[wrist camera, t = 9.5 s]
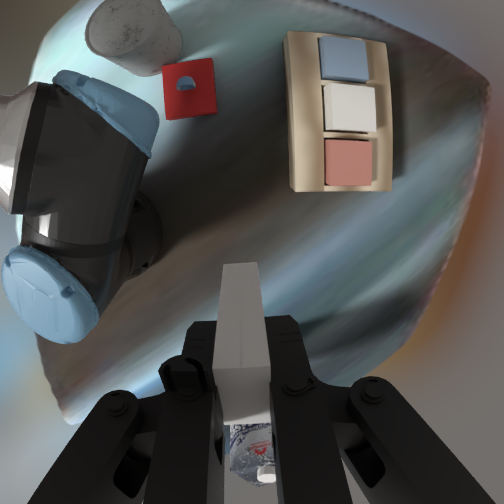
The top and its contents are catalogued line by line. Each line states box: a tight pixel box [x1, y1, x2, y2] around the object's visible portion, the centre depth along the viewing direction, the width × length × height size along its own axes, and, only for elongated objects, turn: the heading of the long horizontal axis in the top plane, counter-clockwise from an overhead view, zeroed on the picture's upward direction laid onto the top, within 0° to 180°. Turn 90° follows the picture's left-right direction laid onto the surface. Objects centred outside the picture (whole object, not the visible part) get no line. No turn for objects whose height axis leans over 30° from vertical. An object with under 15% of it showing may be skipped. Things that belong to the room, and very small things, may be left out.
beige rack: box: [282, 31, 393, 192], centre depth 34 cm, size 14×22×5 cm, turn 3°
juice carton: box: [230, 423, 276, 487], centre depth 40 cm, size 9×10×27 cm
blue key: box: [318, 35, 369, 84], centre depth 29 cm, size 6×6×3 cm
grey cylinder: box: [85, 0, 183, 77], centre depth 26 cm, size 10×10×12 cm
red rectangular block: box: [162, 58, 218, 121], centre depth 32 cm, size 8×7×6 cm
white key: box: [324, 83, 376, 132], centre depth 31 cm, size 6×6×3 cm
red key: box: [324, 140, 372, 186], centre depth 35 cm, size 6×6×3 cm
